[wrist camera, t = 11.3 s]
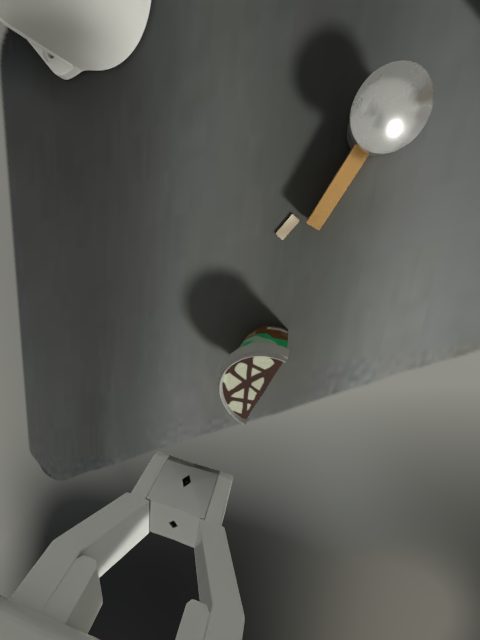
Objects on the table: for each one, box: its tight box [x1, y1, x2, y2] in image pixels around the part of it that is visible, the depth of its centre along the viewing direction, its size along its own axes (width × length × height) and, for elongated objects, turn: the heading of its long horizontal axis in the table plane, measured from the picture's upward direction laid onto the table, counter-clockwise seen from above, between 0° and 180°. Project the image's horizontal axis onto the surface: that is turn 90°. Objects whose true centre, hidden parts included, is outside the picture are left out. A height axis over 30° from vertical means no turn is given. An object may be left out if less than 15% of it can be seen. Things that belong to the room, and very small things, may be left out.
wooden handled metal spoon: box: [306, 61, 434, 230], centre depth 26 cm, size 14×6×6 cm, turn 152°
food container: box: [219, 325, 290, 425], centre depth 36 cm, size 12×6×10 cm, turn 156°
